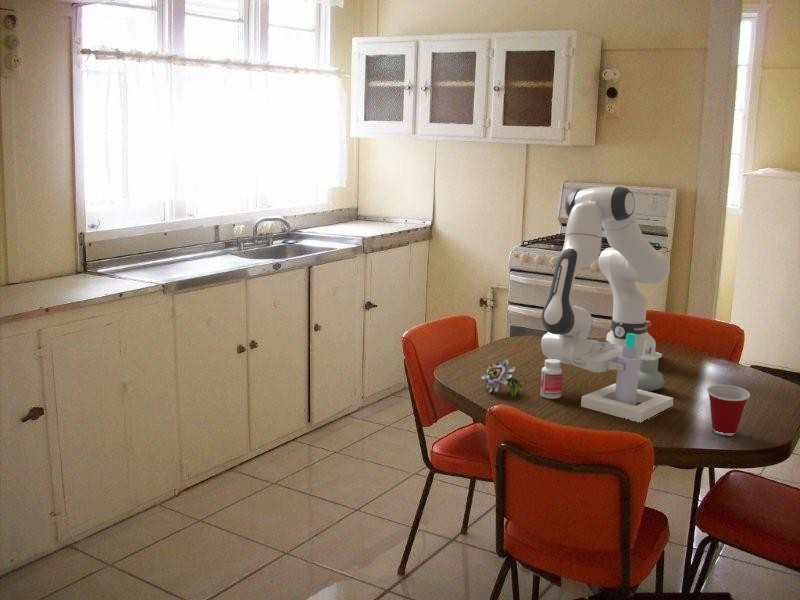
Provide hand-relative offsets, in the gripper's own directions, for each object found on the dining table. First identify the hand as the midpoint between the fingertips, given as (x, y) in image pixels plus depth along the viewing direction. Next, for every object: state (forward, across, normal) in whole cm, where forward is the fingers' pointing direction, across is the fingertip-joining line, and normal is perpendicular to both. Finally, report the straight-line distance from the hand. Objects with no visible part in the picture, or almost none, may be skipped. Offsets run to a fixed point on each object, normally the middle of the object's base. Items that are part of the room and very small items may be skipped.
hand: (632, 364), depth 250 cm
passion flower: (-34, -15, +13) cm, 40 cm away
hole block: (-1, 0, +13) cm, 13 cm away
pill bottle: (-22, -8, +13) cm, 27 cm away
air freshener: (-6, +21, +13) cm, 26 cm away
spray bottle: (-1, -1, +13) cm, 13 cm away
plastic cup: (+28, 0, +13) cm, 31 cm away
